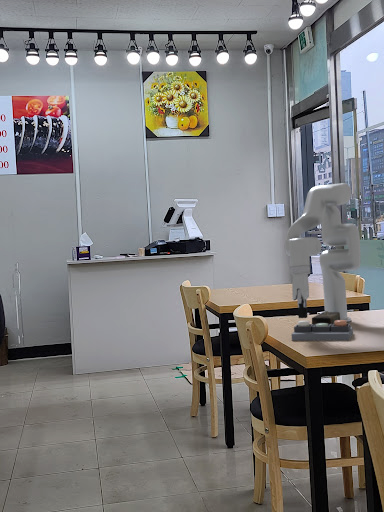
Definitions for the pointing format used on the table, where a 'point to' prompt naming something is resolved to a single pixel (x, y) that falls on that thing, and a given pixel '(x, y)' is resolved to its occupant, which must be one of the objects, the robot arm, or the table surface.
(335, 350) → the table surface
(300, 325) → the cream button
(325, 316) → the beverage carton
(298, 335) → the button panel
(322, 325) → the sage button
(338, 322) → the terracotta button
